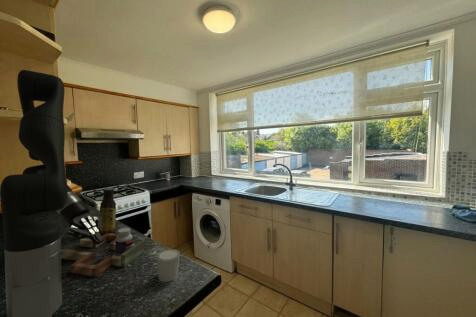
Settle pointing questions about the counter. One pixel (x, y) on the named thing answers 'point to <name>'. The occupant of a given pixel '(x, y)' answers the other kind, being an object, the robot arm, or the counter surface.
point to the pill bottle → (123, 241)
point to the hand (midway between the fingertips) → (100, 242)
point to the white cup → (168, 264)
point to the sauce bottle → (107, 212)
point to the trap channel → (94, 270)
